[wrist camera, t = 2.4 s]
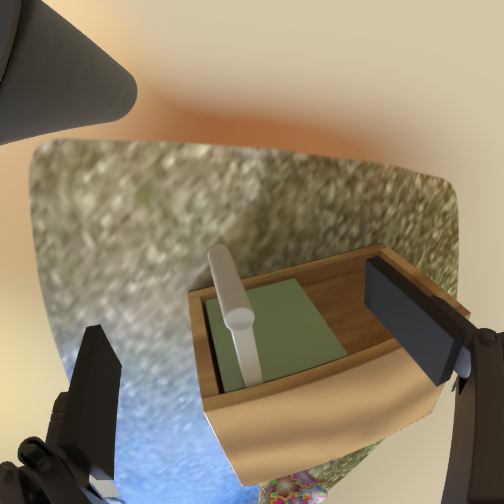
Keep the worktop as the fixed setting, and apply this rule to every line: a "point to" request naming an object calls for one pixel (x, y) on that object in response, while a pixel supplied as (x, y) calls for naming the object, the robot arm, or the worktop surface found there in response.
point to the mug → (294, 489)
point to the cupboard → (318, 376)
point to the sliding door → (264, 328)
